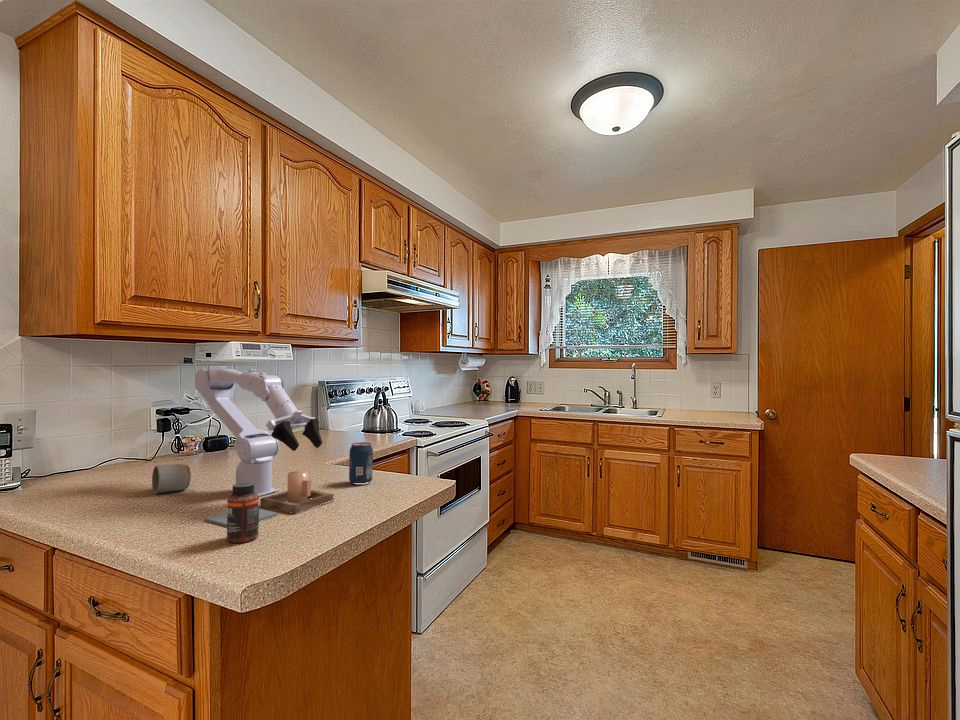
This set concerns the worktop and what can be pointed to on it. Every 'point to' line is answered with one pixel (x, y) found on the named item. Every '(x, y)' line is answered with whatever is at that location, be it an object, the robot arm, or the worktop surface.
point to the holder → (280, 503)
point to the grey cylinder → (170, 478)
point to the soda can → (360, 463)
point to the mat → (222, 517)
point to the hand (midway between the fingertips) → (308, 446)
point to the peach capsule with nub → (298, 486)
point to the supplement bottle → (242, 513)
